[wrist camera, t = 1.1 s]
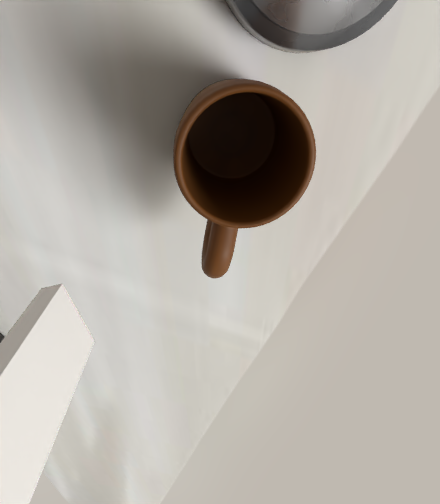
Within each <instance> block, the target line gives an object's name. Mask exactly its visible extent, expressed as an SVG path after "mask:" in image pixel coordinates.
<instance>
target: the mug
mask: <svg viewBox="0 0 440 504" xmlns="http://www.w3.org/2000/svg"><path fill="white" fill-rule="evenodd" d="M173 153H174V156H173V158H174V171H175V176H176V180H177V183H178V186H179V188H180V190H181V192H182V194H183V196H184V197H185V199H186V200H187V202H188V203H189V204H190V205H191V206H192V208H194V209H195V210H196V211H197V212H198V213H199V214H200V215H202V216H203V217H205V218H206V219H208V220H207V225H206V230H205V236H204V242H203V250H202V269H203V271H204V273H205V274H206V275H207V276H208V277H211V278H219V277H222V276H223V275H224V274H225V273H226V272H227V271H228V268H229V266H230V263H231V259H232V256H233V252H234V247H235V242H236V236H237V231H238V228H251V227H257V226H261V225H264V224H267V223H269V222H272V221H274V220H276V219H278V218H279V217H281V216H282V215H284V214H285V213H286V212H287V211H289V210H290V209H291V208H292V207H293V206H294V205H295V204H296V203H297V202H298V201H299V199H300V198H301V196H302V195H303V194H304V192H305V190H306V189H307V187H308V185H309V182H310V180H311V178H312V174H313V171H314V166H315V160H316V146H315V139H314V134H313V131H312V128H311V125H310V123H309V121H308V119H307V117H306V115H305V114H304V112H303V111H302V110H301V108H300V107H299V106H298V105H297V104H296V103H295V102H294V101H293V100H292V99H291V98H290V97H288V96H287V95H285V94H284V93H283V92H281V91H280V90H279V89H277V88H275V87H273V86H271V85H269V84H266V83H263V82H260V81H255V80H248V79H228V80H222V81H219V82H216V83H214V84H211V85H209V86H208V87H206V88H205V89H203V90H202V91H201V92H200V93H198V94H197V95H196V97H195V98H194V99H193V100H192V101H191V103H190V104H189V106H188V107H187V109H186V111H185V113H184V115H183V117H182V119H181V121H180V123H179V126H178V129H177V131H176V136H175V140H174V150H173Z"/></svg>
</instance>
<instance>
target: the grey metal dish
mask: <svg viewBox="0 0 440 504" xmlns="http://www.w3.org/2000/svg"><path fill="white" fill-rule="evenodd" d="M226 1H227V3H228V5H229V7H230V9H231V10H232V12H233V14H234V15H235V17H236V18H237V20H238V21H239V22H240V23H241V24H242V25H243V27H244V28H245V29H246V30H247V31H248V32H249V33H250V34H252V35H253V36H254V37H255V38H257V39H258V40H260V41H261V42H263V43H264V44H266V45H268V46H270V47H272V48H275V49H278V50H281V51H285V52H292V53H309V52H314V51H320V50H324V49H329V48H333V47H336V46H339V45H342V44H344V43H346V42H348V41H350V40H353V39H355V38H357V37H358V36H360V35H361V34H363V33H364V32H366V31H367V30H369V29H370V28H371V27H372V26H373V25H375V24H376V23H377V22H378V21H379V20H381V18H382V17H383V16H384V15H385V14H386V13H387V12H388V11H389V10H390V9H391V8H392V7H393V5H394V4H395V3H396V2H397V0H226Z"/></svg>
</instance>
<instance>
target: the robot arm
mask: <svg viewBox="0 0 440 504" xmlns="http://www.w3.org/2000/svg"><path fill="white" fill-rule="evenodd" d="M94 342H95V340H94V339H93V337H92V335H91V333H90V332H89V330H88V328H87V326H86V324H85V323H84V321H83V319H82V317H81V316H80V314H79V312H78V310H77V309H76V307H75V305H74V303H73V301H72V300H71V298H70V296H69V294H68V293H67V291H66V289H65V287H64V285H63V284H58V285H54V286H50V287H45V288H42V289H41V290H40V291H39V293H38V294H37V295H36V296H35V298H34V299H33V300H32V302H31V303H30V304H29V306H28V307H27V308H26V310H25V311H24V312H23V314H22V315H21V316H20V318H19V319H18V320H17V322H16V323H15V324H14V326H13V327H12V328H11V330H10V331H9V332H8V334H7V335H6V336H5V337H4V336H3V335H2V334H1V333H0V504H29V503H30V500H31V498H32V495H33V493H34V490H35V488H36V486H37V483H38V481H39V478H40V475H41V473H42V471H43V468H44V466H45V463H46V461H47V458H48V456H49V453H50V451H51V448H52V446H53V443H54V441H55V438H56V436H57V434H58V431H59V429H60V426H61V424H62V421H63V419H64V416H65V414H66V411H67V409H68V406H69V404H70V401H71V399H72V396H73V394H74V391H75V389H76V387H77V384H78V382H79V379H80V377H81V374H82V372H83V369H84V367H85V364H86V362H87V359H88V357H89V354H90V352H91V349H92V347H93V344H94Z"/></svg>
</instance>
